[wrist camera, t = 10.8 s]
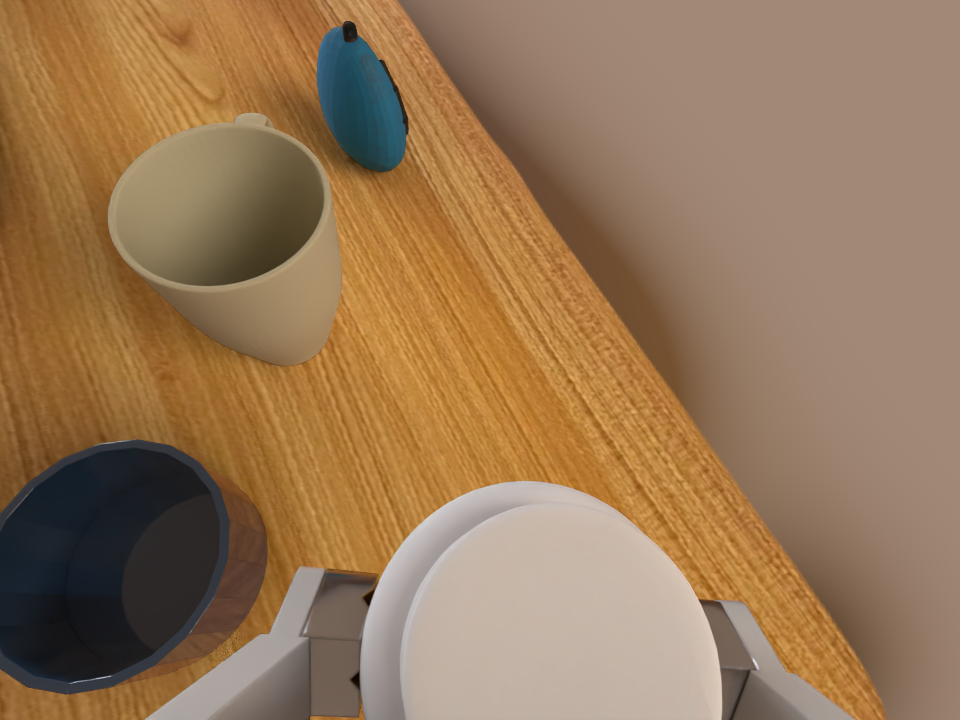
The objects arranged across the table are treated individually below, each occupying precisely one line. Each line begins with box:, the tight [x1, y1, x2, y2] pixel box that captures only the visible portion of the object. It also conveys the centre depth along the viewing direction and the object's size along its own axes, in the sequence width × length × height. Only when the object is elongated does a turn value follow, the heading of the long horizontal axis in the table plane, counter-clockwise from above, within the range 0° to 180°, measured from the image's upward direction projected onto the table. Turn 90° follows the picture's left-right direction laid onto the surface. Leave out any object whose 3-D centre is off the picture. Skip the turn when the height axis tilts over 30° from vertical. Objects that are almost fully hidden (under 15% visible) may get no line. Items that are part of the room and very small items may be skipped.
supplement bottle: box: [360, 481, 722, 720], centre depth 11 cm, size 6×6×10 cm
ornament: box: [317, 21, 409, 172], centre depth 36 cm, size 8×5×10 cm, turn 38°
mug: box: [108, 113, 342, 366], centre depth 29 cm, size 11×10×12 cm
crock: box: [0, 440, 267, 695], centre depth 25 cm, size 10×10×6 cm
